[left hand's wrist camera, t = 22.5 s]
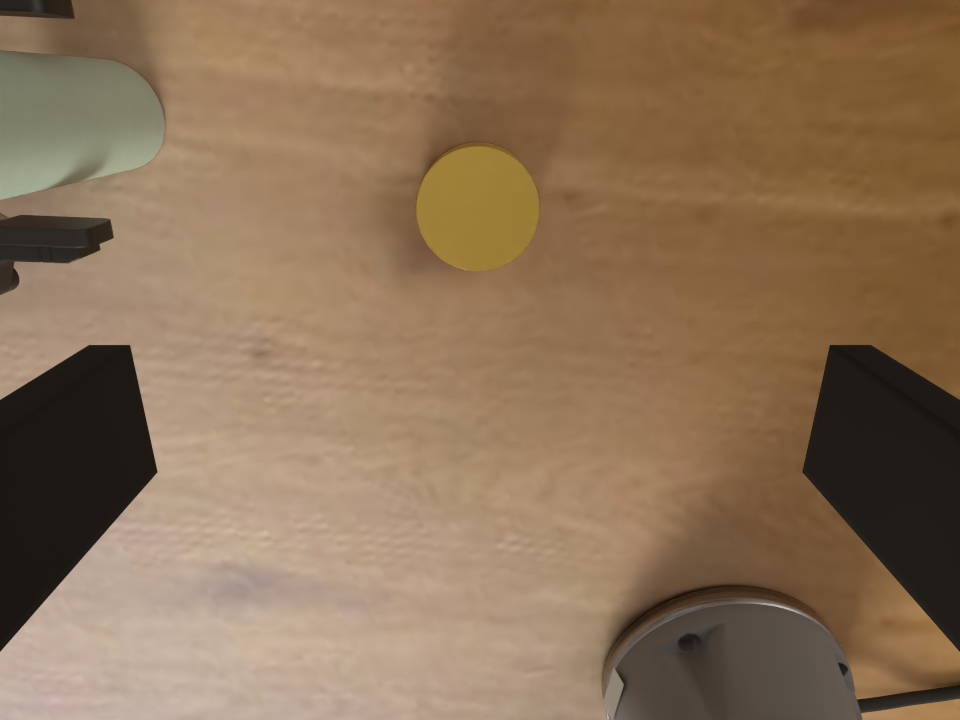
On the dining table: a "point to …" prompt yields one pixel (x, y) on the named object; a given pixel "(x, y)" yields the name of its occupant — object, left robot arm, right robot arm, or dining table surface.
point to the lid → (477, 206)
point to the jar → (72, 120)
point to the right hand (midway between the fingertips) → (81, 125)
